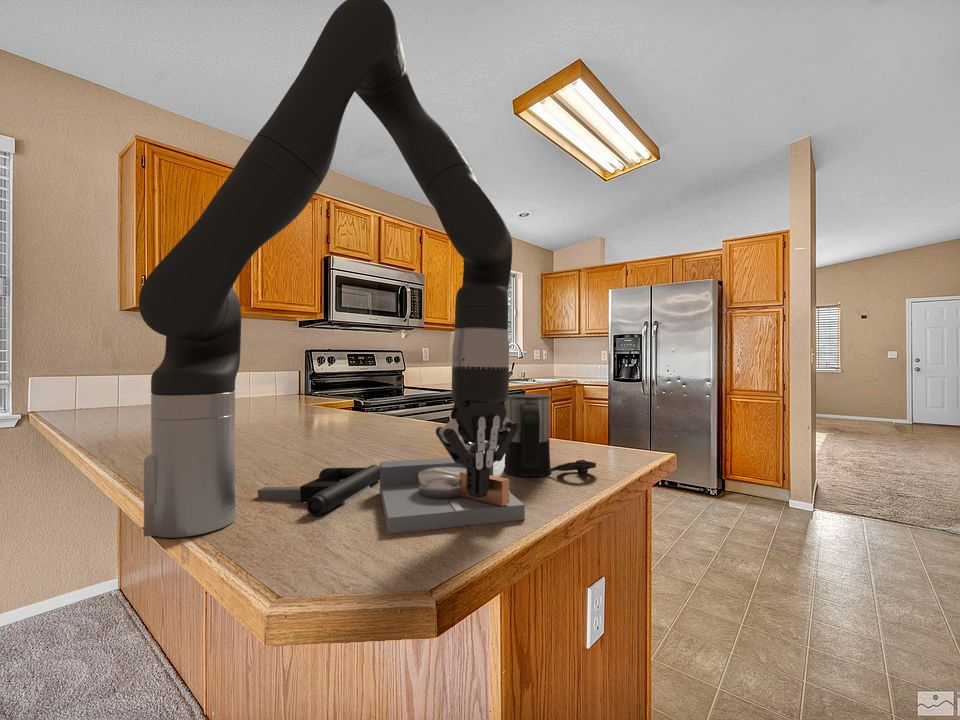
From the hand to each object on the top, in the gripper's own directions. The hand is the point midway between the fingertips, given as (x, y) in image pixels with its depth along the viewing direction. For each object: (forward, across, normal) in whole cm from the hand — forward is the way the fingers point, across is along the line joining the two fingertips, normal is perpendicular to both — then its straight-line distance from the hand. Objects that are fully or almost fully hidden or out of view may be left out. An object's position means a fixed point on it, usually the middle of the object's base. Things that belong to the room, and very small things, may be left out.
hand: (477, 495), depth 59 cm
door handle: (+5, -11, +27) cm, 29 cm away
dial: (+1, +2, +5) cm, 6 cm away
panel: (+4, +1, +9) cm, 10 cm away
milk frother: (+3, +27, +11) cm, 29 cm away
